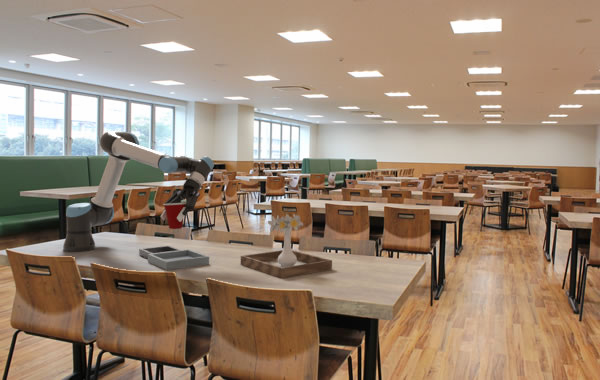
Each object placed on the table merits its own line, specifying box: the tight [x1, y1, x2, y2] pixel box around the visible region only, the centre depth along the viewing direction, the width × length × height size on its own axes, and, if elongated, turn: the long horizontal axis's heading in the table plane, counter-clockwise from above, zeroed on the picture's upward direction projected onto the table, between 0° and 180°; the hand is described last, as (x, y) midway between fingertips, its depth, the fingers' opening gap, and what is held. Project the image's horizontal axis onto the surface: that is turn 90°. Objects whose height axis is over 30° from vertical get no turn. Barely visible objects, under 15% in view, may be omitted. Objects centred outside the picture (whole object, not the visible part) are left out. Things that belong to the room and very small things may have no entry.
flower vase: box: [267, 213, 304, 268], centre depth 219 cm, size 12×18×24 cm
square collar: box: [138, 245, 181, 260], centre depth 241 cm, size 15×15×3 cm
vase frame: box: [240, 249, 333, 279], centre depth 220 cm, size 31×27×4 cm
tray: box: [147, 249, 210, 271], centre depth 225 cm, size 20×20×4 cm
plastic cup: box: [162, 202, 186, 230], centre depth 229 cm, size 11×11×12 cm
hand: (170, 219), depth 226 cm, fingers closed on plastic cup, 10 cm apart
